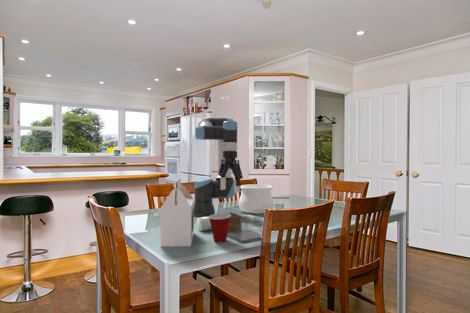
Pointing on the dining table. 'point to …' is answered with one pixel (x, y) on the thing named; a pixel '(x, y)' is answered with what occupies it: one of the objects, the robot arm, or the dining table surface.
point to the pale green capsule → (203, 224)
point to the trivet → (244, 236)
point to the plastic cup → (220, 226)
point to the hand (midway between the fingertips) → (229, 190)
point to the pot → (256, 198)
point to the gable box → (177, 218)
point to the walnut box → (235, 223)
